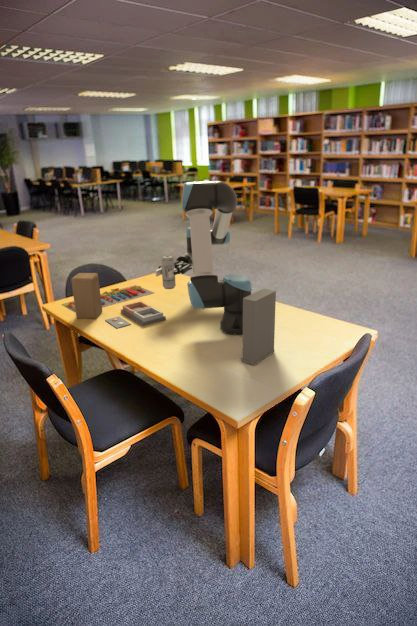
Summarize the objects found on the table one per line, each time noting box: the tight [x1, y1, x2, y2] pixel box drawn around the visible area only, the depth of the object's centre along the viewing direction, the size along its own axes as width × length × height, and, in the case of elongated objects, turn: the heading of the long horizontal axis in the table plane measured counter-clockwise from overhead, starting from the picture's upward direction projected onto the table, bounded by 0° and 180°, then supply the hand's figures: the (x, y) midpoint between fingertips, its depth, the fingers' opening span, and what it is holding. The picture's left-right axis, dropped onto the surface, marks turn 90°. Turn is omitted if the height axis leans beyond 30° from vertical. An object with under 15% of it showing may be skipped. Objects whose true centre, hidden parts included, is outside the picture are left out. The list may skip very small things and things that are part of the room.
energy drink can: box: [160, 255, 177, 290], centre depth 206 cm, size 6×6×15 cm
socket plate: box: [120, 300, 167, 327], centre depth 208 cm, size 22×12×4 cm, turn 37°
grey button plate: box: [105, 316, 132, 329], centre depth 202 cm, size 12×7×1 cm, turn 37°
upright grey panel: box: [240, 288, 277, 366], centre depth 162 cm, size 14×6×25 cm, turn 140°
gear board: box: [61, 284, 155, 313], centre depth 234 cm, size 45×2×19 cm
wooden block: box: [70, 272, 103, 320], centre depth 208 cm, size 10×10×20 cm
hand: (162, 274), depth 201 cm, fingers closed on energy drink can, 6 cm apart
